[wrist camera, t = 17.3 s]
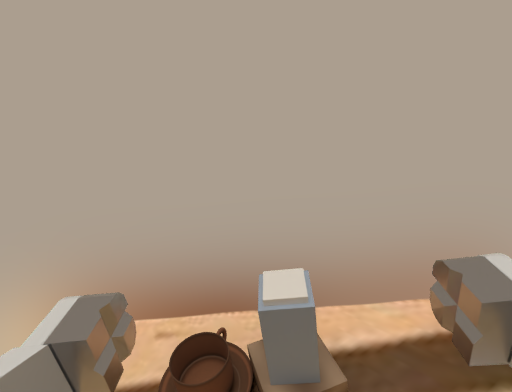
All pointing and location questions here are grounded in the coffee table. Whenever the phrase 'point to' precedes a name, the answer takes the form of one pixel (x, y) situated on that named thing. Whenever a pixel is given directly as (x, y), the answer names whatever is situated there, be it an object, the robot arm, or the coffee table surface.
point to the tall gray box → (289, 326)
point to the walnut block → (329, 388)
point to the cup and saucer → (207, 366)
